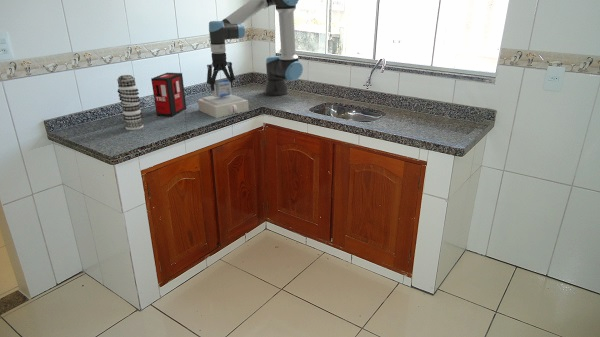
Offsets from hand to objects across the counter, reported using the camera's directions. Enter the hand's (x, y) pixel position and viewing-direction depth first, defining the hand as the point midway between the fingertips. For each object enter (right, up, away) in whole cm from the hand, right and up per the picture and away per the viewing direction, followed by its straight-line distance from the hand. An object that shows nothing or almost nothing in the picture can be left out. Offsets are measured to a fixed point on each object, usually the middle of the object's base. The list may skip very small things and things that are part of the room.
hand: (222, 95), depth 219 cm
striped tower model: (-39, -20, -22) cm, 49 cm away
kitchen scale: (0, -8, +3) cm, 9 cm away
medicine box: (0, -1, 0) cm, 1 cm away
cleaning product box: (-28, -9, +1) cm, 29 cm away
